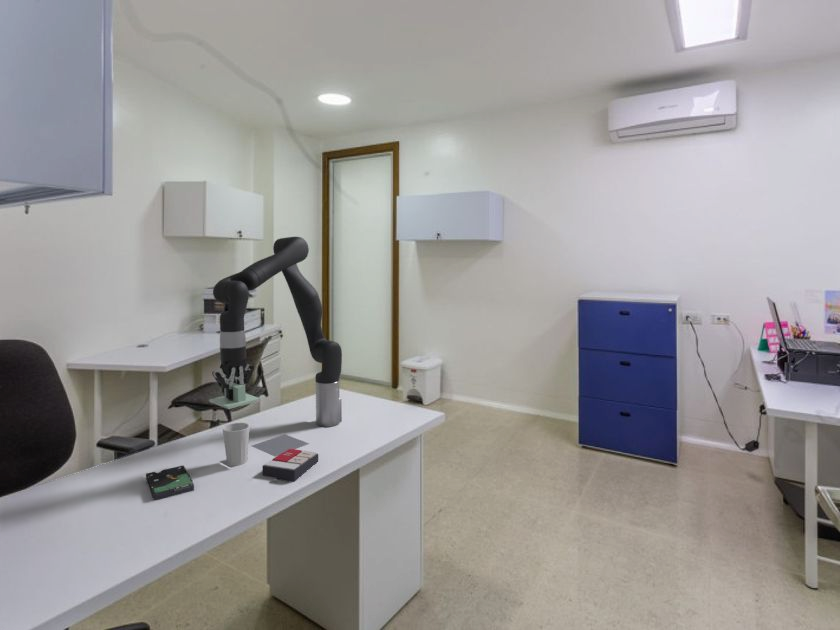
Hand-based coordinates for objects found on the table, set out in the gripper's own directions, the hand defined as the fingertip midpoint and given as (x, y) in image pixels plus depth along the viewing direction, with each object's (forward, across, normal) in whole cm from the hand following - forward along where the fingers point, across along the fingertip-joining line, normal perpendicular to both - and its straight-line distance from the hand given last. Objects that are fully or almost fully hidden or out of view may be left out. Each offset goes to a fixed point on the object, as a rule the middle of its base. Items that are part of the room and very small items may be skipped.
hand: (235, 398), depth 152 cm
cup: (+21, 0, 0) cm, 21 cm away
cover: (+1, 0, 0) cm, 1 cm away
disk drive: (+22, +20, -1) cm, 30 cm away
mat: (+21, -17, -1) cm, 27 cm away
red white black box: (+22, -8, +17) cm, 29 cm away
